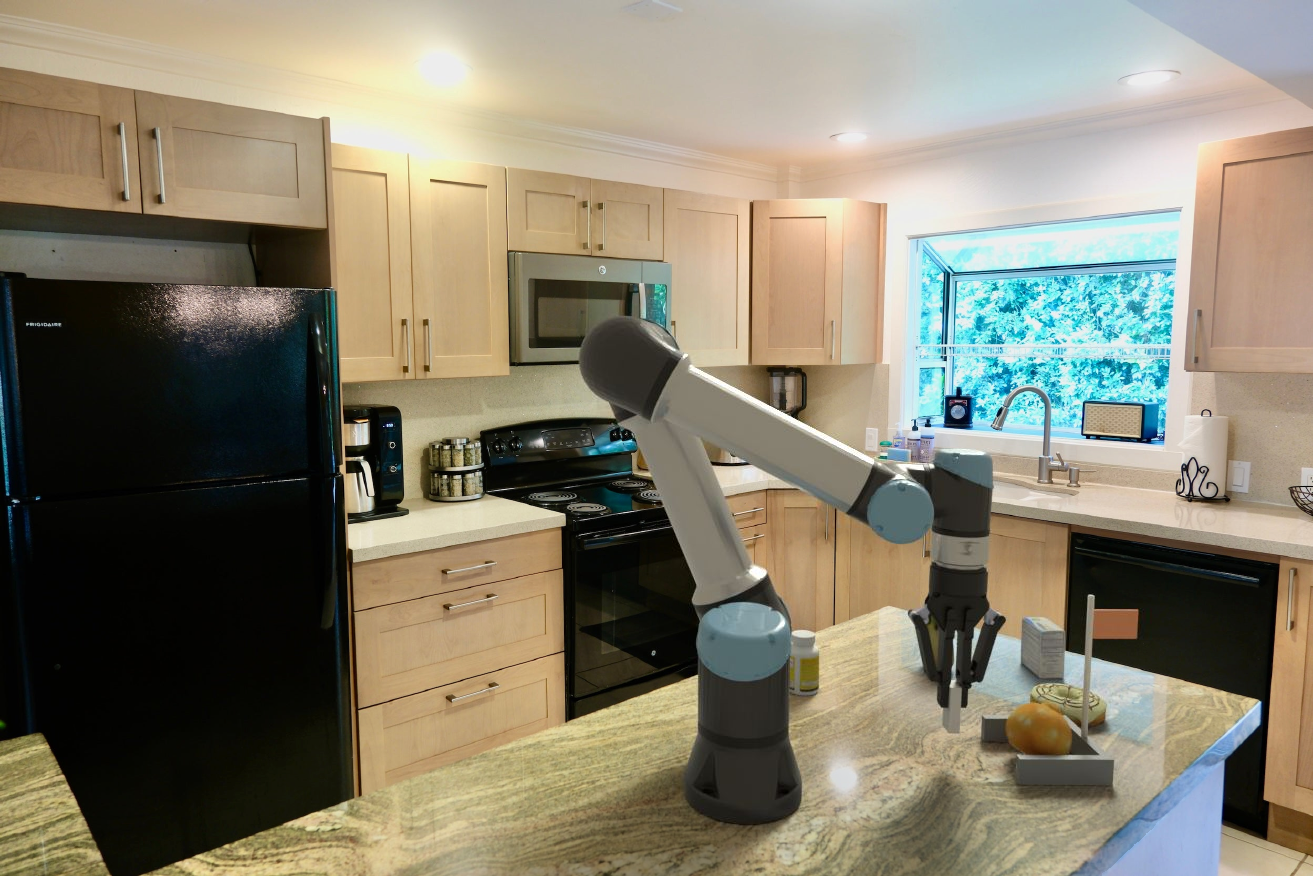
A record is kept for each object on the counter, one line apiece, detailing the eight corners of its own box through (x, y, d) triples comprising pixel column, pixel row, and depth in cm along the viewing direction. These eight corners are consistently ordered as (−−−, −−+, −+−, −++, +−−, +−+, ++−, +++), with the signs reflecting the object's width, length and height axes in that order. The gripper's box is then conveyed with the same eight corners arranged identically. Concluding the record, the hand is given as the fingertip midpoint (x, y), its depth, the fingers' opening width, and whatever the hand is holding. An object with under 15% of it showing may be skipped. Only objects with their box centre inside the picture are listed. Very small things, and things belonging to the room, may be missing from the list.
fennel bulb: (918, 663, 152) (920, 599, 151) (944, 661, 153) (946, 598, 151) (932, 675, 146) (934, 608, 145) (958, 673, 147) (961, 607, 146)
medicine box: (1064, 679, 144) (1066, 631, 143) (1038, 679, 144) (1040, 631, 143) (1044, 662, 152) (1046, 616, 151) (1019, 662, 152) (1021, 616, 151)
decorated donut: (1100, 737, 123) (1101, 712, 123) (1023, 718, 129) (1024, 695, 129) (1109, 711, 132) (1111, 689, 131) (1036, 695, 138) (1037, 673, 137)
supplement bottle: (823, 688, 141) (824, 632, 140) (811, 699, 136) (812, 641, 135) (793, 681, 144) (794, 626, 143) (781, 692, 139) (781, 635, 138)
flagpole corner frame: (1019, 784, 109) (1026, 610, 107) (981, 737, 122) (987, 582, 120) (1157, 785, 109) (1168, 610, 106) (1104, 738, 122) (1112, 582, 120)
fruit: (1043, 744, 120) (1045, 691, 119) (1084, 771, 112) (1087, 715, 112) (993, 751, 118) (995, 697, 118) (1031, 779, 111) (1034, 721, 110)
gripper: (919, 569, 109) (911, 740, 112) (1018, 570, 109) (1008, 742, 112) (903, 555, 117) (896, 716, 119) (996, 556, 117) (987, 718, 119)
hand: (950, 728), depth 115 cm, fingers closed
